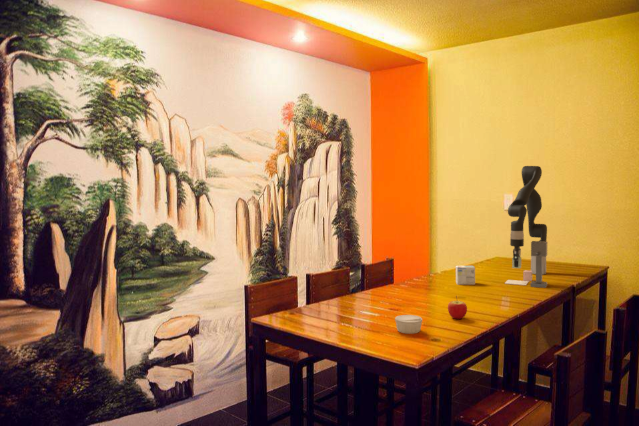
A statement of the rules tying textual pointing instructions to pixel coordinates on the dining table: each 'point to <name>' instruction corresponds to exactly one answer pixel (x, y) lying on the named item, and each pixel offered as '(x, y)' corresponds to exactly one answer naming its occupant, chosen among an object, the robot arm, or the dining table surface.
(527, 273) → the block
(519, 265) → the pale green rectangular block
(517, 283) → the plate
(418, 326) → the ramekin
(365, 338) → the dining table surface
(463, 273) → the light bulb box
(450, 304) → the apple
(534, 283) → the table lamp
